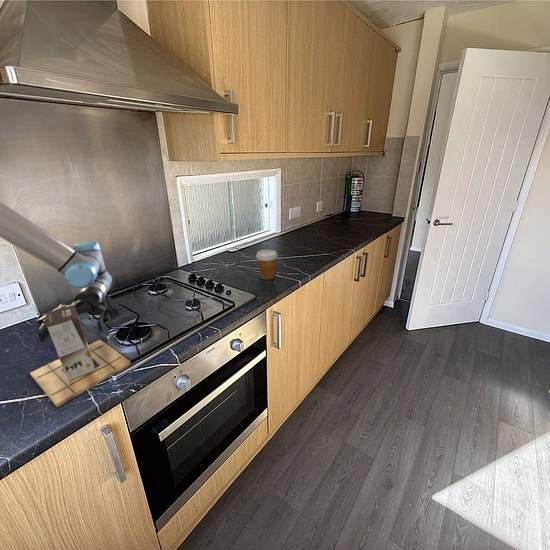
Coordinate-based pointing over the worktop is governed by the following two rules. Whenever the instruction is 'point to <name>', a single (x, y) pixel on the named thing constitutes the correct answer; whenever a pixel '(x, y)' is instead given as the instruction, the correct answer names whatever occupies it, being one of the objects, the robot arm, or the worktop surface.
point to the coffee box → (70, 341)
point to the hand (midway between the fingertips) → (71, 332)
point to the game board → (64, 389)
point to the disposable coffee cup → (267, 263)
